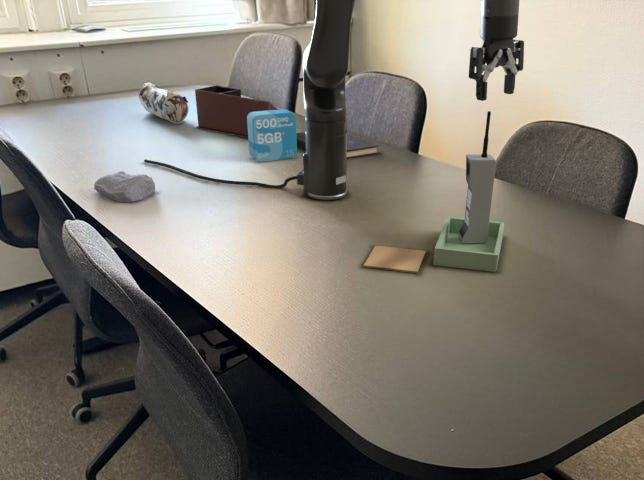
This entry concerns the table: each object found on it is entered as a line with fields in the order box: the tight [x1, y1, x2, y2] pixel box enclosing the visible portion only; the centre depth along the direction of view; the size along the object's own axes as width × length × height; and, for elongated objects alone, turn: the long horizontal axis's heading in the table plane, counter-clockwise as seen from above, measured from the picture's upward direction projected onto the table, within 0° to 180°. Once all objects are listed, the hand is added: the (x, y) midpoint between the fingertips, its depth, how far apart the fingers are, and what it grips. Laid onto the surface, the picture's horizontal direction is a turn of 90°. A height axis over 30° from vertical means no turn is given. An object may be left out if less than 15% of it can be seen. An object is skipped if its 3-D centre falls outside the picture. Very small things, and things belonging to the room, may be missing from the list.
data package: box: [247, 108, 298, 163], centre depth 186 cm, size 12×4×12 cm, turn 118°
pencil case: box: [138, 82, 189, 125], centre depth 224 cm, size 22×8×10 cm, turn 37°
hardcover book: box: [296, 131, 380, 160], centre depth 199 cm, size 16×23×2 cm
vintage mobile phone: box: [458, 110, 497, 244], centre depth 134 cm, size 4×5×25 cm
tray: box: [432, 216, 505, 273], centre depth 136 cm, size 12×18×3 cm, turn 167°
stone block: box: [93, 171, 156, 203], centre depth 160 cm, size 12×5×10 cm
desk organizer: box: [194, 84, 280, 139], centre depth 210 cm, size 10×29×11 cm, turn 58°
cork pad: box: [363, 244, 427, 274], centre depth 132 cm, size 10×10×1 cm
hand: (495, 96), depth 150 cm, fingers open, 8 cm apart
